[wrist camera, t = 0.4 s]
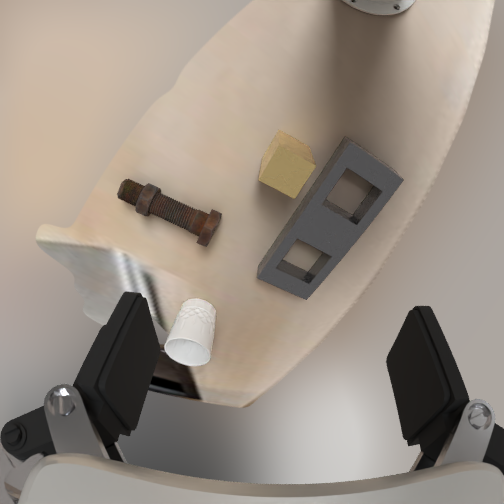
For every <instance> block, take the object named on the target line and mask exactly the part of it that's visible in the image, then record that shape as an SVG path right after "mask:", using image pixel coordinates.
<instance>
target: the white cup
mask: <svg viewBox="0 0 504 504" xmlns="http://www.w3.org/2000/svg"><path fill="white" fill-rule="evenodd" d="M215 322H216V309H215V308H214V307H213V305H212V304H210V303H209V302H207V301H205V300H202V299H198V298H194V299H188V300H187V301H185V302H184V303H183V305H182V307H181V309H180V311H179V313H178V314H177V317H176V319H175V321H174V324H173V326H172V328H171V331H170V333H169V336H168V338H167V341H166V343H165V351H166V353H167V354H168V356H169V357H171V358H172V359H173V360H175V361H177V362H179V363H181V364H184V365H188V366H202V365H205V364H207V363H208V362H209V361H210V359H211V352H212V346H213V339H214V331H215Z"/></svg>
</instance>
